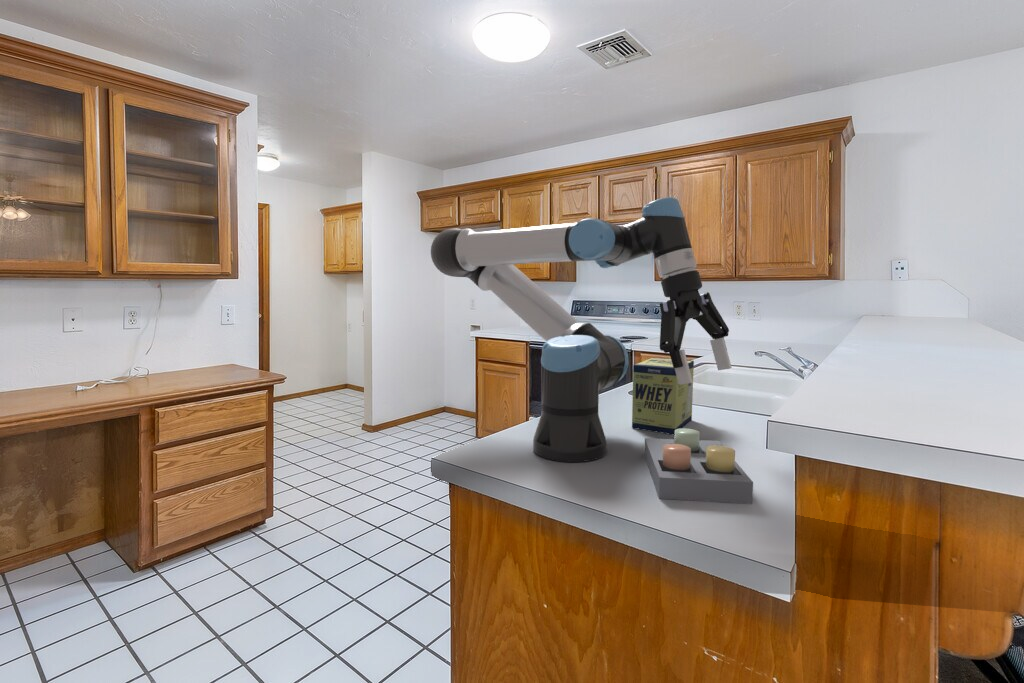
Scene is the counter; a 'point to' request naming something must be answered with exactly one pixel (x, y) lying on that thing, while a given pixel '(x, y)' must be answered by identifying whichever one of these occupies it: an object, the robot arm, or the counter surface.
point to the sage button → (687, 438)
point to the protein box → (660, 396)
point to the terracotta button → (676, 456)
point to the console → (696, 477)
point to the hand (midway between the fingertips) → (706, 376)
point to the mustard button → (720, 458)
